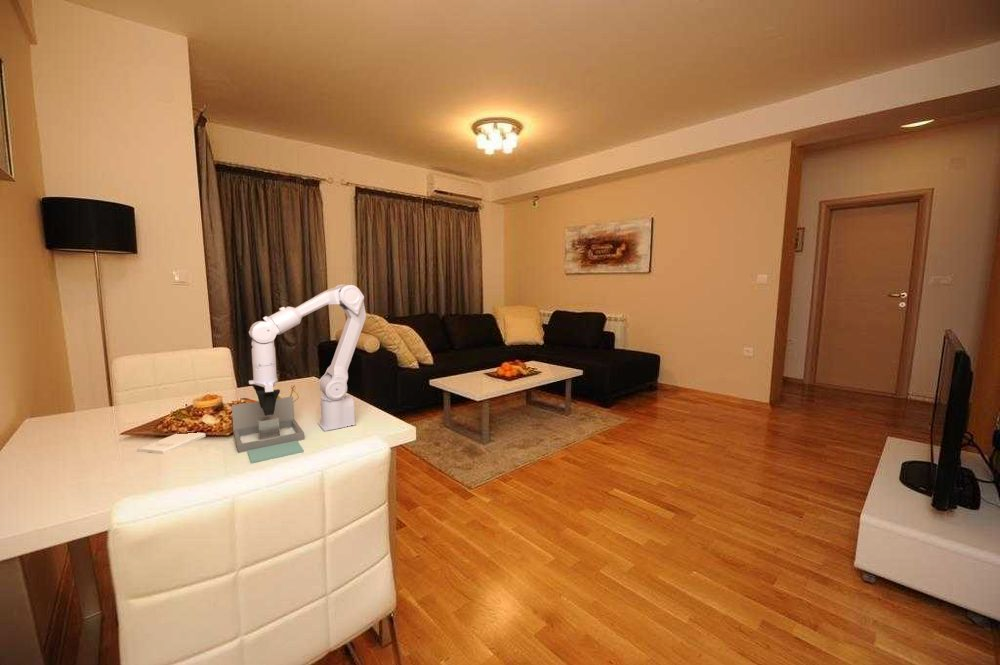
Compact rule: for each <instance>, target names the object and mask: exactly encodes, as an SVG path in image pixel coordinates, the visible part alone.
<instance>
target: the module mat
mask: <svg viewBox="0 0 1000 665" xmlns="http://www.w3.org/2000/svg"><path fill="white" fill-rule="evenodd" d="M246 452H247V455H248V458H249V462H250V464H254V463H260V462H264V461H268V460H273V459H278V458H283V457H286V456H291V455H296V454H300V453H304V449H303V447H302V445H301V444H300V442H299V441H292V442H287V443H283V444H278V445H273V446H268V447H263V448H258V449H253V450H248V451H246Z"/></svg>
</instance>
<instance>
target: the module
mask: <svg viewBox="0 0 1000 665" xmlns="http://www.w3.org/2000/svg"><path fill="white" fill-rule="evenodd" d="M257 428H258V433H257V439H258V440H263V439H268V438H273V437H278V436H281V435H280V432H281V431H280V429H279V418H278V416H277V414H276V415H270V416H264V417H258V418H257Z"/></svg>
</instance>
